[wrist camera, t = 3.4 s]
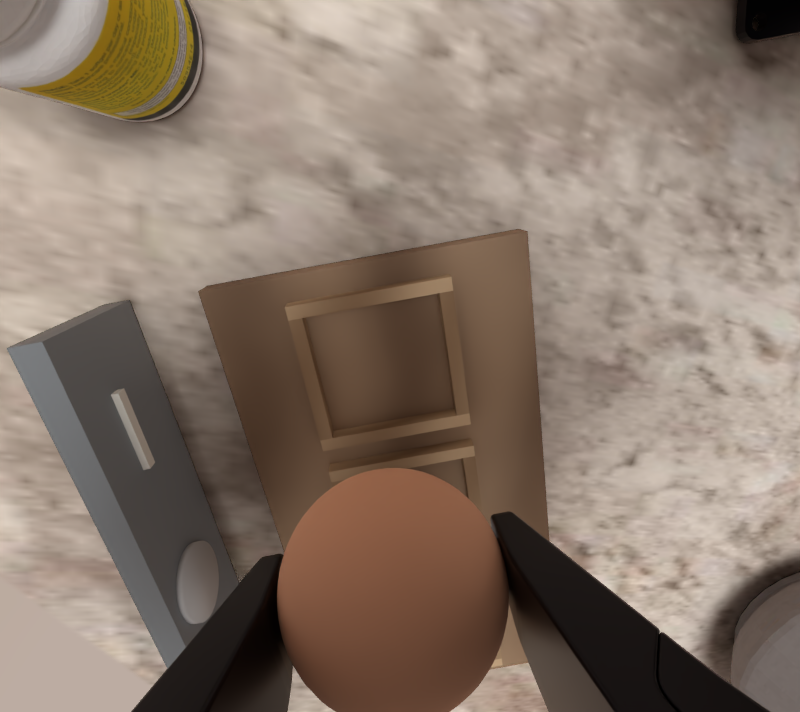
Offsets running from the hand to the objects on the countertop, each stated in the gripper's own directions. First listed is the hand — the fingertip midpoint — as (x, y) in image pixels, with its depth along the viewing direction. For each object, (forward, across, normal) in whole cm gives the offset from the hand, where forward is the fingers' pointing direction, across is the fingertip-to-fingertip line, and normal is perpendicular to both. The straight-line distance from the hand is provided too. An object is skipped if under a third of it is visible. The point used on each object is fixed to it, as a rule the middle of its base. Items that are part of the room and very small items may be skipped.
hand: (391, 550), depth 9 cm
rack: (+11, 0, +7) cm, 13 cm away
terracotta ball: (+1, 0, 0) cm, 1 cm away
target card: (+11, +9, +7) cm, 16 cm away
